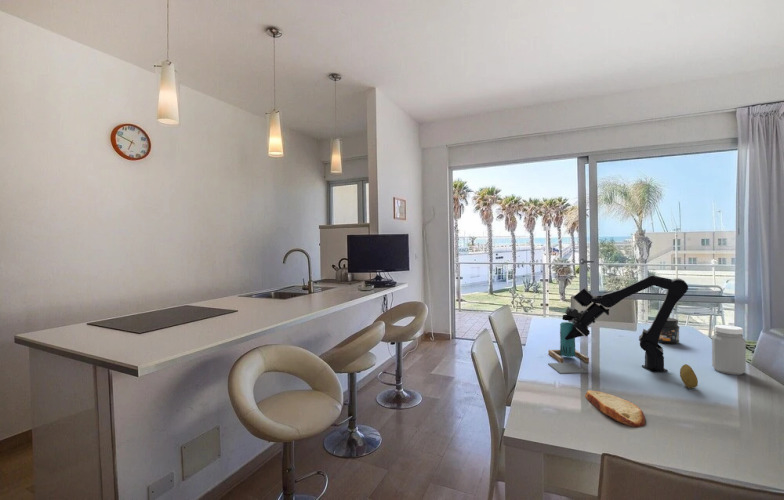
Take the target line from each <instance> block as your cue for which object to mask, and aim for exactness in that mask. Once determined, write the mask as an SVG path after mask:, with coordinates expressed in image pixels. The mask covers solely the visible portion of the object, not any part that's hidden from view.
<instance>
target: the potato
mask: <svg viewBox="0 0 784 500" xmlns="http://www.w3.org/2000/svg"><path fill="white" fill-rule="evenodd" d="M679 377H680V379H681V381H682V383H683V384H684V385H685V386H686V387H687V388H688V389H694V388H696V387H697V386H698V384H699V383H698V382H699V381H698V376H697V374H696V373H695V371H694V370H693V368H692V367H691V366H690V365H689V364H683V365H682V366H681V367H680V370H679Z"/></svg>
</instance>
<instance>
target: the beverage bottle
mask: <svg viewBox="0 0 784 500" xmlns="http://www.w3.org/2000/svg"><path fill="white" fill-rule="evenodd" d="M562 320H563V321H562V322H560V324H559V326H560V327H559V335H560V336H559V339H560V340H559V350H560V351H561V355H560V356H562V357H568V358H574V357H576V356H575V355H576V354H575V353H576V352H575V350H576V351H577V349H576V338H573V339H569V340H566V339H565V337H566V336H567V335H568V333H569V332H570V331H571V330H572V325H574V324H573V323H572V322H568V321H571V320H572V316H569V315H567V314H562Z"/></svg>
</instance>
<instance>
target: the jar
mask: <svg viewBox="0 0 784 500" xmlns="http://www.w3.org/2000/svg"><path fill="white" fill-rule="evenodd" d="M713 328H714V331H715V332H714V335H712V337H711V364H712V365H711V366H712V368H714V370H715V371H716V372H719V373H723V374H727V375H734V376H740V375H741V376H742V375H743V374H744V373H745V372H747V371H746V369H747V367H746V366H747V365H746V364H747V363H746V360H747V359H746V357H747V355H746V353H747V349H746V348H747V347H746V345H747V342H746V340H745V339H744V335H743V334H744V328H743V327H740V326H736V325H730V324H716V325H714V327H713Z"/></svg>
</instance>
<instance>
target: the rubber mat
mask: <svg viewBox="0 0 784 500" xmlns="http://www.w3.org/2000/svg"><path fill="white" fill-rule="evenodd" d="M547 365H548V366H549V367H551V368H552V369H553V370H554V371H556V372H557V373H558V374H560V375H561V374H562V375H563V374H567V375H568V374H570V375H571V374H587V373H588V372H587V370H585V369H584V368H582V367H580V366H579V365H577V364H576V363H574V362H564V363H560V362H551V363H550V362H549V363H547Z"/></svg>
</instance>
